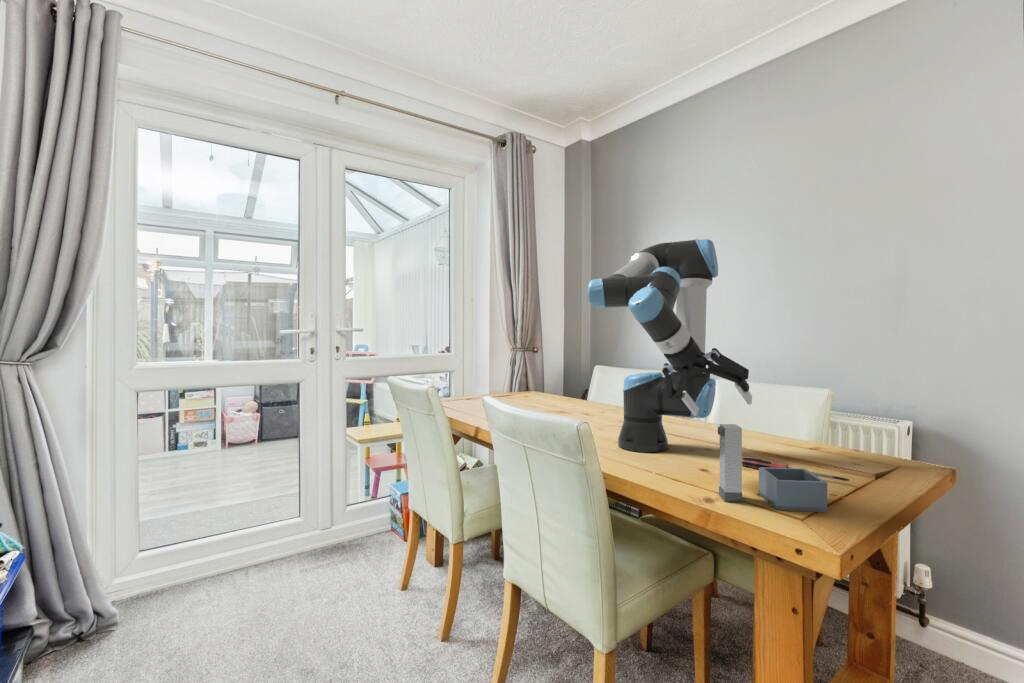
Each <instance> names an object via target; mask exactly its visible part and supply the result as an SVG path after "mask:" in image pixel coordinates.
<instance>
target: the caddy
mask: <svg viewBox="0 0 1024 683" xmlns="http://www.w3.org/2000/svg"><path fill="white" fill-rule="evenodd" d="M811 472H812V471H809V470H808V469H806V468H803V467H802V468H798V467H797V468H796V467H791V468H769V467H759V469H758V495H760V497H762V498H763V499H764V500H765V501H766V502H767V503H768V504H769V505H770V506H771V507H772V508H773V509H775V510H776V511H788V510H803V511H802V512H813V511H815V512H818V513H821V512H822V513H828V482H827V481H825V480H824V479H823V478H820V476H816V475H814V474H813V473H811Z"/></svg>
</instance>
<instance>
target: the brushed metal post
mask: <svg viewBox="0 0 1024 683" xmlns="http://www.w3.org/2000/svg"><path fill="white" fill-rule="evenodd" d="M717 434H718V436H719V486H718V496H719V497H720V498H721V499H722V500H723V501H724V503H725V502H726V503H743V492H742V491H743V480H742V479H743V478H742V477H743V471H742V470H743V467H742V466H743V465H742V457H743V428H742V427H741V426H739V425H737V424H736V423H719V426H717Z"/></svg>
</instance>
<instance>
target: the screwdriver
mask: <svg viewBox="0 0 1024 683" xmlns="http://www.w3.org/2000/svg"><path fill="white" fill-rule="evenodd" d="M742 466H743V467H747V466H748V468H751V469H755V470H759V467H769V468H792V467H791V466H789V464H788V463H779V462H775V461H771V460H767V459H762V458H760V457H750V456H742ZM810 472H811V473H813V474H814V475H816V476H818V477H819V478H820V477H822V478H826V479H833V480H839V481H844V482H845V481H846V482H850V480H851V479H848V478H846V477H841V476H835V475H832V474H826V473H820V472H815V471H810Z"/></svg>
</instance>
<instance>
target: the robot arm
mask: <svg viewBox="0 0 1024 683" xmlns="http://www.w3.org/2000/svg"><path fill="white" fill-rule="evenodd" d="M717 256H718V255H717V252H716V248H715V244H714V242H713V241H712V240H711V239H709V238H703V239H699V238H696V239H689V240H682V241H681V240H679V241H671V242H661V243H657V244H654V245H651V246H649V247H646V248H644V249H642V250H640V251H638V252H636V253H635V254H634V255H633V256H631V257H630V259H629V260H628V263H627V264H625V265H624V266H622V267H620V268H619V269H618V270H616V271H615V272H614V273H613V274H611V275H610V276H608V277H605V278H604V277H599V278H594V279H591V280H590V281H589V283H588V285H587V292H586V293H587V299H588V302H589V304H590V306H591V307H592V308H602V309H606V308H627V307H628V308H629V311H630V312H631V313H632V315H633V317H634V318H635V320H636V321H637V322H638V323H639V324H640V326H642V329H643V330H644V331H645V332H646V334H648V336H649V337H650V338H651V340H652V341H653V343H654V344H655V346H656V347H657V348H658V349H659V350H660V351H661V353H663V356H664V357H665V358H666V360H667V361H668V363H667V362H665V363H664V364H663V368H662V370H661V371H662V372H660V371H654V372H653V371H651V372H650V371H649V372H643V373H641V372H640V373H634V374H630V375H627V376H625V378H624V380H623V389H622V391H623V422H622V426H621V429H620V431H619V435H618V437H617V438H618V440H617V442H618V443H617V445H618V447H619V448H621V449H623V450H626V451H630V452H637V453H639V452H640V453H659V452H664V451H667V450H668V447H669V441H668V437H667V435H666V431H665V428H664V424H663V416H669V417H681V418H691V419H694V418H697V419H705V418H707V417H708V416H710V414H711V412H712V411H713V407H714V403H715V397H716V386H717V385H716V383H717V382H716V380H715V379H713V378H711V375H713V376H716V377H719V378H722V379H725V380H728V381H730V382H733V383H734V388H736V390H737V391H738V392H739V394H740V395H741V397H742V398H743V399H744V401H745V402H746V404H747V405H750V406H751V405H752V404H753V403H752V400H753V395H752V394H751V392H750V385H749V383H748V382H747V380H748V379H749V374H750V373H749V372H750V371H749V369H748V368H747V367H745V366H743V365H741V364H739V363H738V362H736V361H734V360H733V359H731V358H729V357H727V356H725V355H724V354H722V353H721V352H720V350H718V349H717V348H716V347H713V348H712V349H711V351H709V352H706V332H707V331H706V330H707V328H706V327H707V293H708V292H707V290H708V288H709V287H710V286H711V285H712V284H713V279H714V278H717V277H718V276H719V265H718V258H717ZM675 304H676V305H675ZM675 306H676V309H675V310H676V311H674V308H675ZM675 312H676V313H675ZM663 375H664V376H663Z"/></svg>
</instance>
